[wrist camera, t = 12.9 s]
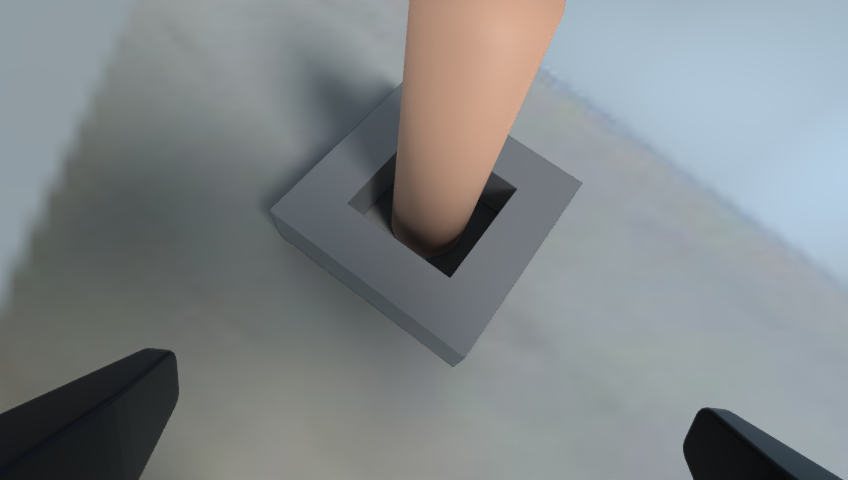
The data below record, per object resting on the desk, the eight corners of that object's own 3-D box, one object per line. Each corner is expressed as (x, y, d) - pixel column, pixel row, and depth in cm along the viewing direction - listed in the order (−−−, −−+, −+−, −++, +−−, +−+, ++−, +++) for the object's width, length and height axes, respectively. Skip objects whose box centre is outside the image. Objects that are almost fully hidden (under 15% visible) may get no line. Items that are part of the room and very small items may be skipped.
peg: (436, 271, 23) (514, 72, 10) (376, 227, 23) (378, -12, 11) (477, 218, 24) (591, -14, 12) (420, 178, 25) (467, -83, 12)
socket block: (453, 366, 21) (464, 357, 18) (281, 236, 23) (269, 210, 20) (559, 209, 25) (582, 183, 22) (408, 109, 27) (412, 72, 24)
